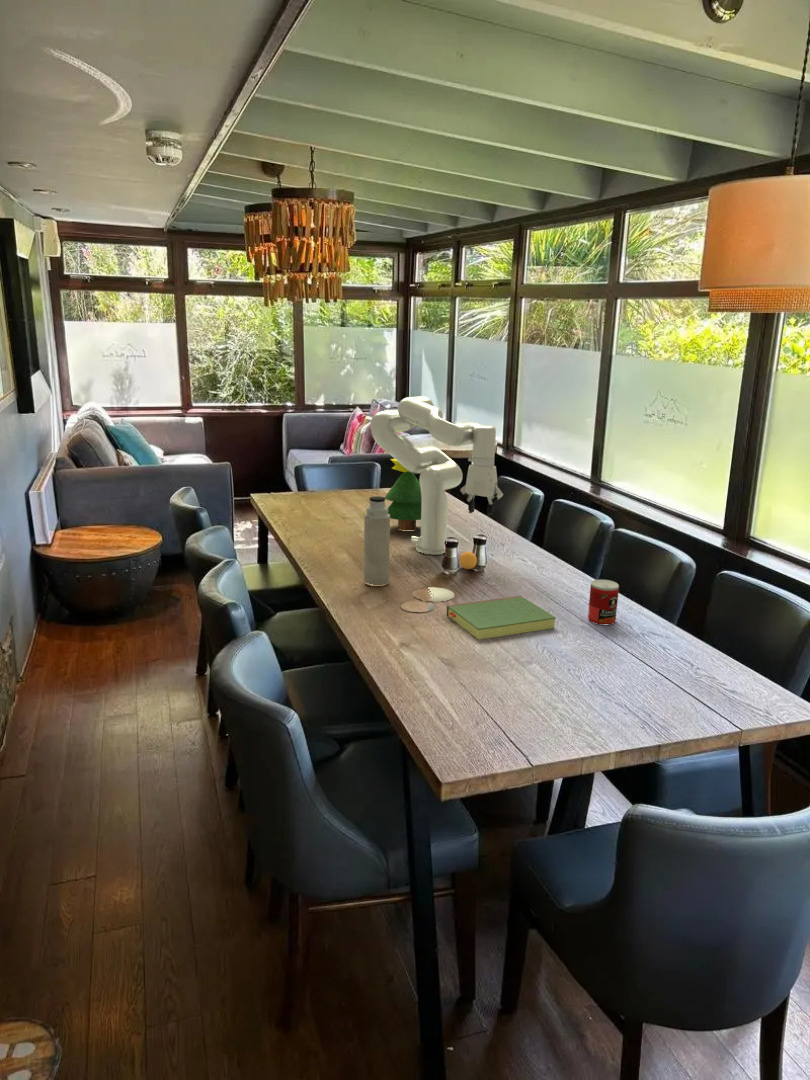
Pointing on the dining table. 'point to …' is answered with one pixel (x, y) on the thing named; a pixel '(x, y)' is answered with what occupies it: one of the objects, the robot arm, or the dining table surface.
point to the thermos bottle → (376, 542)
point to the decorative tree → (405, 499)
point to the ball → (468, 560)
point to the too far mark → (431, 607)
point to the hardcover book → (500, 617)
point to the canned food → (603, 601)
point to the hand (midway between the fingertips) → (480, 513)
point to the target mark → (440, 594)
